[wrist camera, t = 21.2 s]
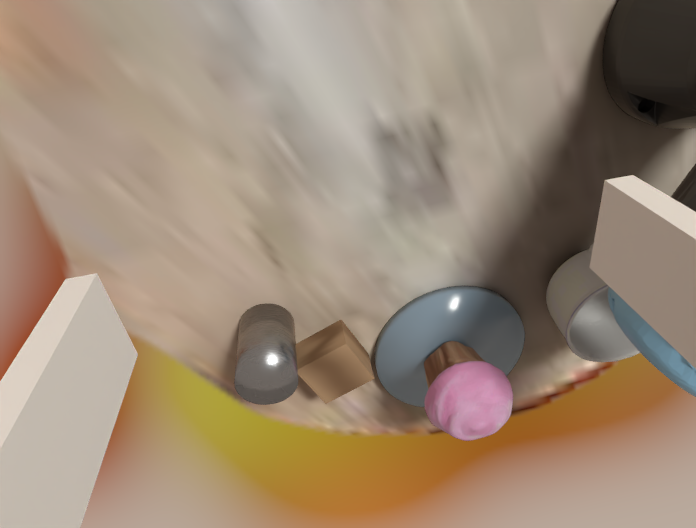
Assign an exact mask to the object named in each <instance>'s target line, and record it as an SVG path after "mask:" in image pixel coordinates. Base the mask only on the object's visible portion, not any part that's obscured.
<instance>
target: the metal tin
mask: <svg viewBox="0 0 696 528" xmlns="http://www.w3.org/2000/svg"><path fill="white" fill-rule="evenodd" d="M234 383H235V389H236V391H237V392H238V394H239V395H240V396H241V397H242V398H243V399H245V400H247V401H249V402H252V403H255V404H263V405H267V404H274V403H278V402H281V401H283V400H285V399H287V398H288V397H290V396H291V395H292V394H293V393H294V391H295V390H296V388H297V386H298V369H297V355H296V341H295V327H294V319H293V317H292V315H291V314H290V313H289V312H288V311H287V310H286V309H285V308H283V307H281V306H279V305H275V304H260V305H256V306H253V307H251V308H250V309H248V310H247V311H246V312H245V313H244V314H243V315H242V317H241V319H240V322H239V333H238V345H237V358H236V370H235V382H234Z"/></svg>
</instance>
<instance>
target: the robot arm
mask: <svg viewBox="0 0 696 528" xmlns="http://www.w3.org/2000/svg"><path fill="white" fill-rule="evenodd" d="M603 70H604V77H605V81H606V85H607V88H608V90H609V93H610V95H611V96H612V98H613V100H614V101H615V103H616V104H617V105H618V106H619V107H620V108H621V109H622V110H623V111H624V112H626V113H627V114H628V115H630V116H632V117H634V118H637V119H639V120H641V121H644V122H646V123H648V124H651V125H654V126H658V127H663V128H670V129H684V128H696V0H619V1H618V3H617V5H616V7H615V9H614V12H613V14H612V17H611V19H610V22H609V26H608V29H607V33H606V37H605V43H604V50H603ZM589 268H590V269H591V270H593V271H594V272H595V273H596V274H597V275H598V276H599V277H600V278H601V279H602V280H603V281H604V282H605V283H606V284H607V285H608V286H609V288H608V302H609V305H610V309H611V311H612V312H613V314H614V317H615V320H616V322H617V323H618V325H619V327H620V328H621V330H622V331H623V332H624V334H625V335H626V336H627V338H628V339H629V340H630V341H631V343H632V344H633V345H634V346H635V347H636V348H637V349H638V351H639V352H640V353H642V355H643V356H644V357H645V358H646V359H647V360H648V361H649V362H651V363H652V364H653V365H654V366H655V367H656V368H657V369H658V370H659V371H661V372H662V373H663V374H664V375H665V376H666V377H668V378H669V379H670V380H671V381H673V382H674V383H675V384H677V385H678V386H679V387H681V388H682V389H684V390H685V391H687V392H688V393H690V394H691V395H693V396H695V397H696V164H695V165H694V167H693V168H692V169H691V171H690V172H689V173H688V175H687V176H686V177H685V179H684V180H683V181H682V183H681V184H680V185H679V187H678V188H677V189H676V191H675V192H674V193H673V195H672V196H671V197H670V196H668V195H666V194H664V193H663V192H661V191H659V190H658V189H656V188H654V187H652V186H651V185H649V184H647V183H646V182H644V181H642V180H641V179H639V178H637V177H635V176H634V175H630V176H624V177H619V178H613V179H608V180H605V181H604V187H603V193H602V198H601V204H600V210H599V216H598V221H597V227H596V233H595V239H594V244H593V250H592V256H591V261H590V267H589ZM137 356H138V354H137V352H136V350H135V348H134V346H133V344H132V342H131V340H130V338H129V336H128V334H127V332H126V330H125V328H124V326H123V324H122V322H121V320H120V318H119V316H118V314H117V312H116V310H115V308H114V306H113V304H112V302H111V300H110V298H109V296H108V294H107V292H106V290H105V288H104V286H103V284H102V282H101V280H100V278H99V276H98V274H97V273H96V274H91V275H85V276H80V277H75V278H69V279H65V281H64V283H63V284H62V286H61V287H60V289H59V290H58V292H57V294H56V295H55V297H54V298H53V300H52V302H51V303H50V305H49V306H48V308H47V309H46V311H45V312H44V314H43V316H42V317H41V319H40V320H39V322H38V323H37V325H36V326H35V328H34V330H33V331H32V333H31V334H30V336H29V337H28V339H27V341H26V343H25V344H24V345H23V347H22V348H21V350H20V352H19V353H18V355H17V356H16V358H15V360H14V361H13V363H12V364H11V366H10V367H9V369H8V370H7V372H6V374H5V375H4V377H3V378H2V380H1V381H0V528H80V527H81V524H82V521H83V518H84V515H85V512H86V509H87V506H88V503H89V500H90V497H91V494H92V491H93V488H94V485H95V482H96V479H97V476H98V473H99V470H100V467H101V464H102V461H103V458H104V455H105V452H106V449H107V446H108V443H109V440H110V437H111V434H112V431H113V428H114V425H115V422H116V419H117V416H118V413H119V410H120V407H121V404H122V401H123V398H124V395H125V392H126V389H127V386H128V383H129V379H130V377H131V374H132V371H133V368H134V364H135V362H136V359H137Z"/></svg>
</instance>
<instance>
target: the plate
mask: <svg viewBox="0 0 696 528" xmlns="http://www.w3.org/2000/svg"><path fill="white" fill-rule="evenodd" d="M524 340H525V332H524V327H523V323H522V321H521V318H520V317H519V315H518V314H517V312H516V311H515V309H514V308H513V306H512V305H511V304H510V303H509V302H508V301H507V300H506V299H505V298H503V297H502V296H501V295H499V294H497V293H495V292H493V291H491V290H488V289H485V288H480V287H474V286H454V287H447V288H442V289H438V290H435V291H432V292H429V293H426V294H424V295H422V296H420V297H418V298H416V299H414V300H413V301H411V302H409V303H408V304H406V305H405V306H404V307H402V308H401V309H400V310H399V311H397V312H396V313H395V314H394V315H393V316H392V317H391V319H390V320H389V321H388V322H387V323H386V325H385V326H384V328H383V329H382V331H381V333H380V335H379V337H378V339H377V343H376V346H375V353H374V360H375V366H376V370H377V374H378V377H379V379H380V382H381V383H382V385H383V386H384V388H385V389H386V390H387V391H388V392H389V393H390V394H391V395H392V396H394V397H395V398H397V399H398V400H400V401H402V402H405V403H407V404H410V405H414V406H419V407H425V404H424V401H425V396H426V394H427V391H428V385H427V381H426V373H425V368H424V361H425V360H426V359H427V358H428V357H429V356H430V355H431V354H432V353H433V352H435V351H436V350H437V349H438V348H439V347H440V346H441V345H442V344H443V343H445V342H448V341H456V342H459V343H461V344H463V345H464V346H467V347H471V348H473V349H474V350H475V351H476V353H477V354H478V355H479V356H480V357H481V358H482V359H483V360H484V361H485V362H487V363H490V364H492V365H493V366H495V367H497V368H498V369H500V370H502V371H503V372H504V373H505V375H506V376H507V375H508V374H509V373H510V371H511V370H512V369H513V368H514V366H515V365H516V363H517V361H518V359H519V357H520V355H521V353H522V350H523V346H524Z"/></svg>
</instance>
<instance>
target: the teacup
mask: <svg viewBox="0 0 696 528" xmlns="http://www.w3.org/2000/svg"><path fill="white" fill-rule="evenodd" d="M593 244H594V243H593ZM593 244H591V246H590V248H589V249H587V250H585V251H582V252H580V253H578V254H576V255H574V256H573V257H571V258H570V259H568V260H567V261H566V262H564V263H563V264H562V265H561V266H560V267H559V268H558V269H557V271H556V272H555V273H554V275H553V276H552V278H551V280H550V282H549V284H548V288H547V293H546V301H547V306H548V310H549V312H550V314H551V317H552V318H553V320H554V322H555V323H556V325H557V327H558V328H559V330H560V332H561V333H562V335H563V336H564V337H565V339H566V341H567V344H568V346H569V348H570V349H571V350H572V352H573V353H575V354H576V355H577V356H579V357H581V358H583V359H585V360H589V361H593V362H613V361H618V360H621V359H625V358H628V357H632V356H634V355H636V354H638V353H640V352H639V351H638V349H637V348H636V347H635V346H634V345H633V344H632V343H631V341H630V340H629V339H628V338H627V336H626V335H625V334H624V332H623V331H622V330H621V328H620V327H619V325H618V323H617V322H616V320H615V317H614V314H613V312H612V311H611V309H610V305H609V302H608V288H609V286H608V285H607V284H606V283H605V282H604V281H603V280H602V279H601V278H600V277H599V276H598V275H597V274H596V273H595V272H594V271H593V270H591V269H590V268H589V267H590V261H591V256H592V250H593Z"/></svg>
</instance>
